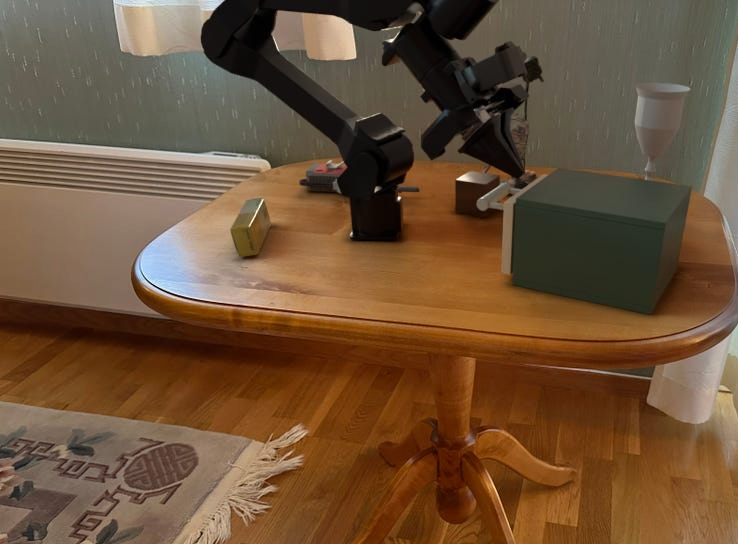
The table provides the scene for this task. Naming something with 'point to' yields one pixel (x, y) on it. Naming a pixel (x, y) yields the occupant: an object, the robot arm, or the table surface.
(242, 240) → the medication box
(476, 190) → the block
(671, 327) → the table surface
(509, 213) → the drawer
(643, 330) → the table surface
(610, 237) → the cabinet
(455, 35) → the robot arm
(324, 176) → the walkie-talkie
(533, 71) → the bird figurine
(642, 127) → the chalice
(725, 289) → the table surface
